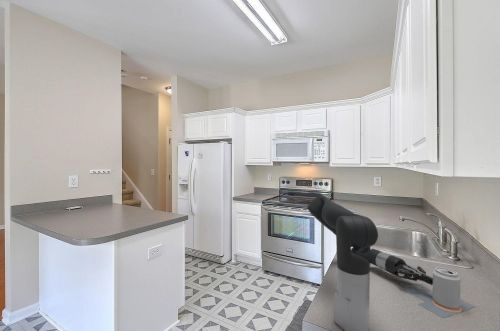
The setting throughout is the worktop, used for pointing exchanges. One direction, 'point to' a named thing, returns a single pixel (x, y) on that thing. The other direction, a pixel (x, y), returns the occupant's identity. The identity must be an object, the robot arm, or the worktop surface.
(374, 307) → the worktop surface
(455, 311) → the t mat
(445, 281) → the can
